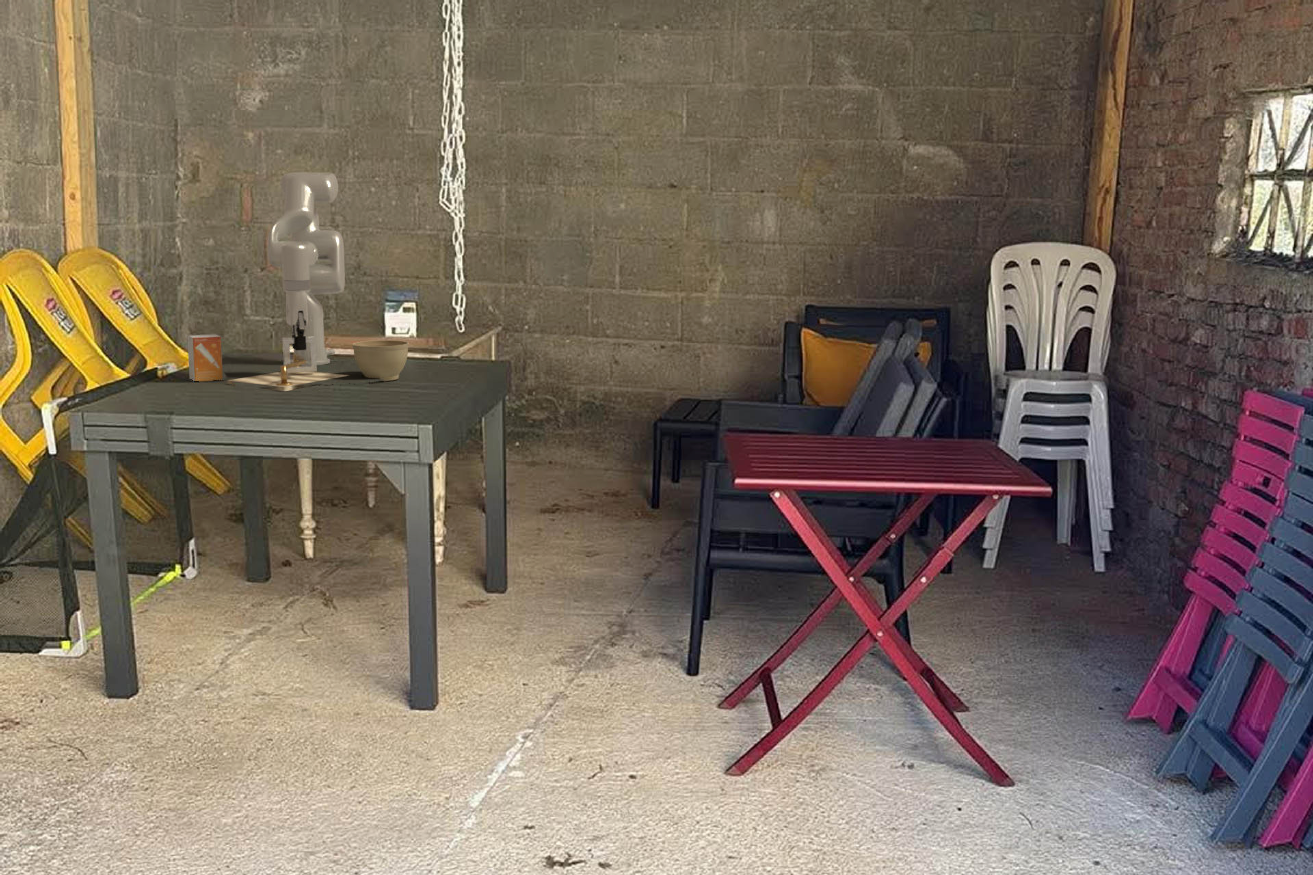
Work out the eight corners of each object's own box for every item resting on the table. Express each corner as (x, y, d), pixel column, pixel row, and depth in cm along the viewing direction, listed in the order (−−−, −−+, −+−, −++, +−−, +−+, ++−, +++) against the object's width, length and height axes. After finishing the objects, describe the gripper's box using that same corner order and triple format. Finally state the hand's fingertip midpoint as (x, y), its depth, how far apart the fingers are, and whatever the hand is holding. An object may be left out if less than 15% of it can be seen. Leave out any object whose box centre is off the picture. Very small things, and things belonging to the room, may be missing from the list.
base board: (294, 373, 387) (294, 369, 387) (349, 379, 377) (349, 375, 376) (227, 384, 365) (227, 380, 364) (284, 391, 354) (284, 386, 354)
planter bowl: (405, 374, 387) (404, 339, 385) (413, 382, 372) (412, 345, 370) (351, 376, 382) (350, 340, 380) (356, 384, 367) (355, 347, 365)
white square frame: (283, 371, 376) (282, 337, 374) (315, 369, 380) (313, 336, 378) (285, 372, 373) (284, 338, 371) (316, 371, 377) (315, 337, 375)
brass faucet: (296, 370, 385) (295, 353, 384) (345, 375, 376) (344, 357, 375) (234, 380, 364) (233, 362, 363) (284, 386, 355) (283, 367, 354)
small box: (194, 382, 368) (192, 337, 366) (189, 379, 373) (186, 335, 371) (223, 380, 373) (221, 335, 370) (217, 377, 378) (215, 333, 375)
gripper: (278, 284, 377) (281, 346, 381) (288, 289, 363) (290, 353, 366) (304, 284, 380) (307, 345, 384) (314, 288, 366) (317, 352, 370)
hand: (299, 348), depth 375 cm, fingers closed on white square frame, 3 cm apart
